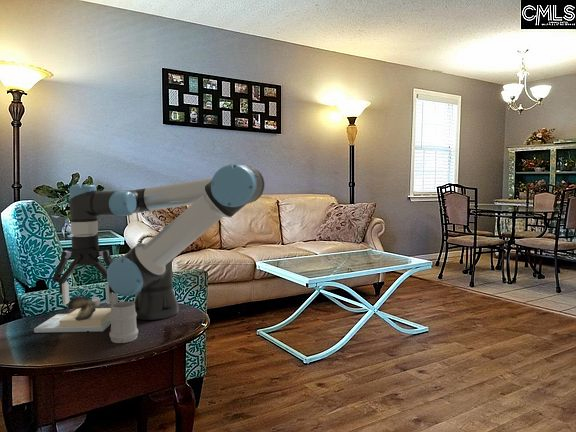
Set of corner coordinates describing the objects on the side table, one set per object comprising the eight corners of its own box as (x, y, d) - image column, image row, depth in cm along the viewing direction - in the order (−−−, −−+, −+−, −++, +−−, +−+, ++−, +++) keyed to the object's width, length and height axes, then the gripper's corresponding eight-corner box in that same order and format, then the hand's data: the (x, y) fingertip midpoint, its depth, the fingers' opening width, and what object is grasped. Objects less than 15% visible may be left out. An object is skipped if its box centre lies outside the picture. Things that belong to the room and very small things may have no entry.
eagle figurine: (73, 308, 138) (60, 311, 129) (86, 289, 139) (75, 290, 130) (94, 321, 138) (82, 325, 129) (107, 301, 139) (96, 304, 130)
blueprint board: (119, 316, 144) (118, 307, 144) (103, 331, 130) (102, 320, 130) (57, 317, 143) (56, 308, 143) (34, 332, 129) (33, 321, 129)
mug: (116, 346, 118) (114, 302, 117) (99, 335, 127) (98, 294, 126) (143, 338, 124) (141, 297, 123) (125, 328, 132) (124, 289, 131)
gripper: (129, 233, 139) (132, 299, 140) (49, 234, 138) (53, 300, 139) (121, 236, 131) (124, 305, 133) (37, 237, 130) (41, 307, 132)
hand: (88, 303), depth 136 cm, fingers open, 13 cm apart
